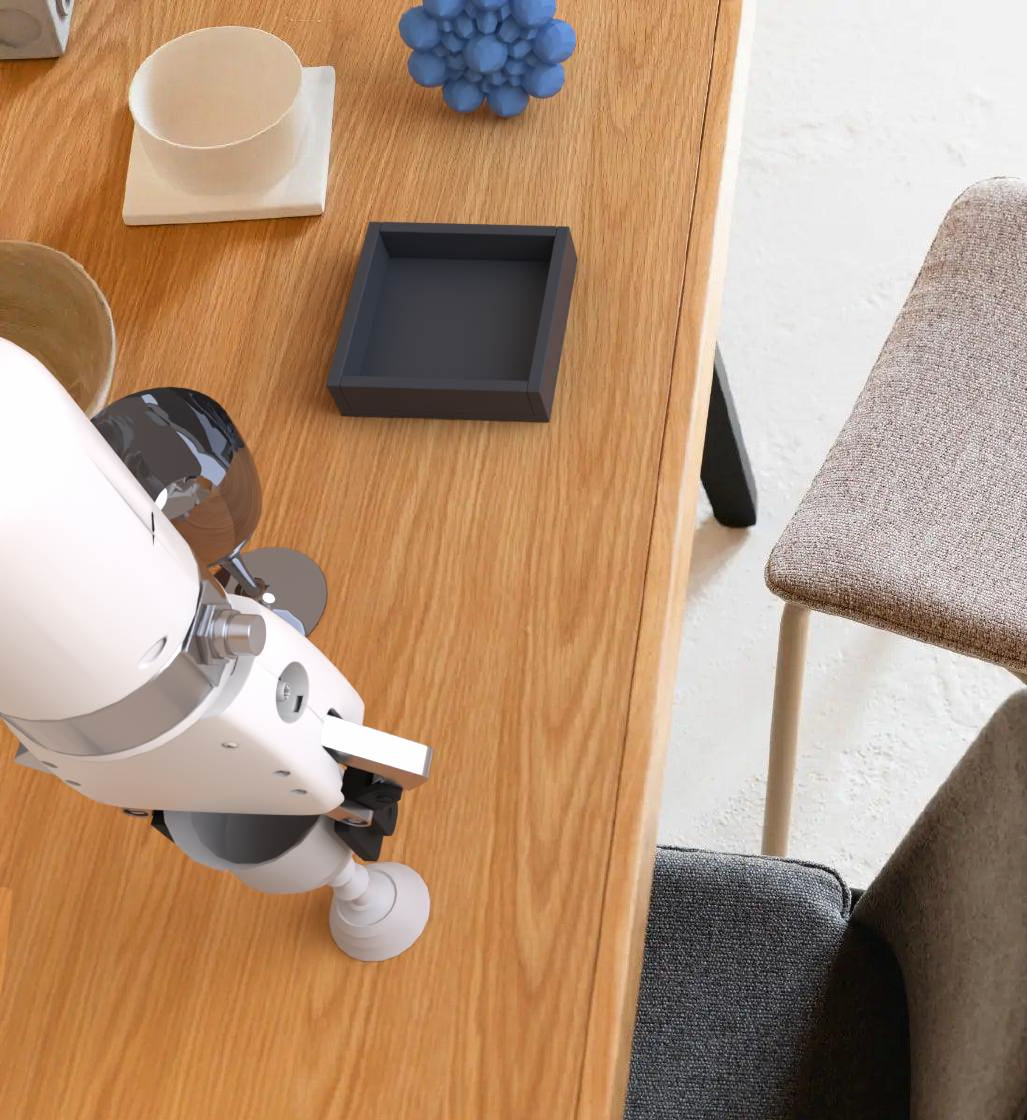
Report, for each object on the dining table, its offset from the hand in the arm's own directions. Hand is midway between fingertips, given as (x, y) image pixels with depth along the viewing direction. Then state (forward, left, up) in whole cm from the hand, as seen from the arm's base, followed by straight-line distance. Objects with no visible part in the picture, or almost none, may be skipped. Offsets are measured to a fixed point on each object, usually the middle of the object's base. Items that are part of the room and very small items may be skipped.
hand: (291, 822), depth 63 cm
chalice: (0, 0, -13) cm, 13 cm away
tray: (-2, +36, -13) cm, 38 cm away
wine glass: (-10, +17, -13) cm, 24 cm away
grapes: (-2, +56, -13) cm, 57 cm away
